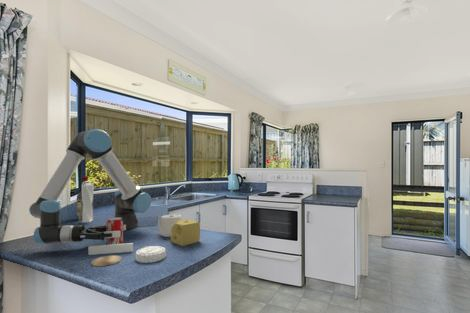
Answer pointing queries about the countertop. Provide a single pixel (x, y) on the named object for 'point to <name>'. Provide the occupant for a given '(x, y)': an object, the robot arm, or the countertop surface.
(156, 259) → the mooncake
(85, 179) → the liquor
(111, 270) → the countertop surface
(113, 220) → the soda can
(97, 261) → the coaster
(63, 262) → the countertop surface
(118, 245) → the divider
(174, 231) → the cheese
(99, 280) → the countertop surface
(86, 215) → the white bottle
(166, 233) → the toilet tissue
